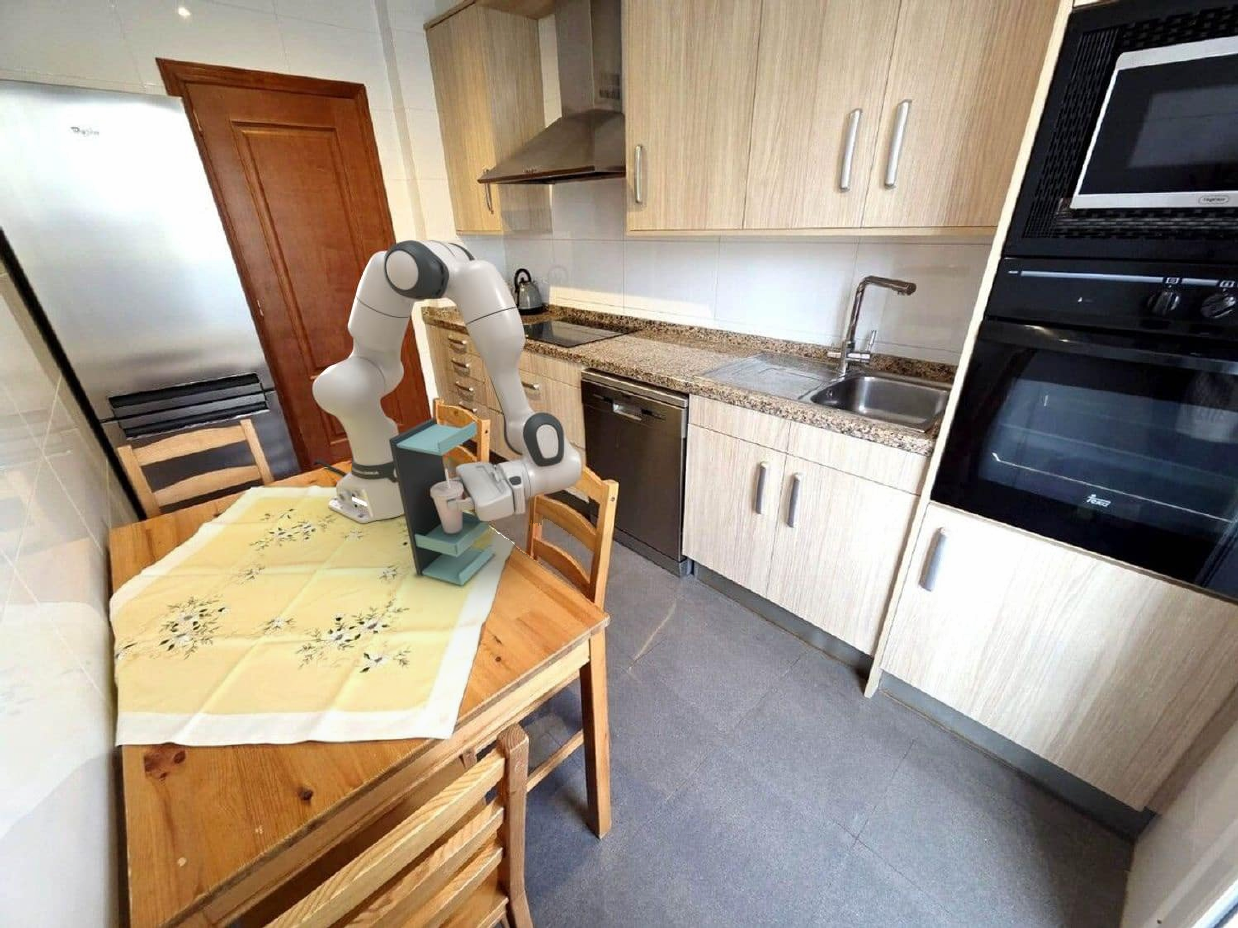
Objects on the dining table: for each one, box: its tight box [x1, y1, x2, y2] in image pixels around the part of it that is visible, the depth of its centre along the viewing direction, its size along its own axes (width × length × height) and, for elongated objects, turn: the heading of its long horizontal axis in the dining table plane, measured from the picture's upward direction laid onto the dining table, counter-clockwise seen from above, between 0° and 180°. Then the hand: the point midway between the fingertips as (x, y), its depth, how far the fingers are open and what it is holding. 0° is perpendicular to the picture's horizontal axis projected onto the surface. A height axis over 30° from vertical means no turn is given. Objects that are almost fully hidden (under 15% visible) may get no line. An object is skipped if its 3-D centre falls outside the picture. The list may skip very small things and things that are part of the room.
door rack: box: [389, 417, 493, 587], centre depth 102 cm, size 11×12×32 cm
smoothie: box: [430, 467, 464, 533], centre depth 101 cm, size 6×6×14 cm
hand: (443, 497), depth 101 cm, fingers closed on smoothie, 6 cm apart
